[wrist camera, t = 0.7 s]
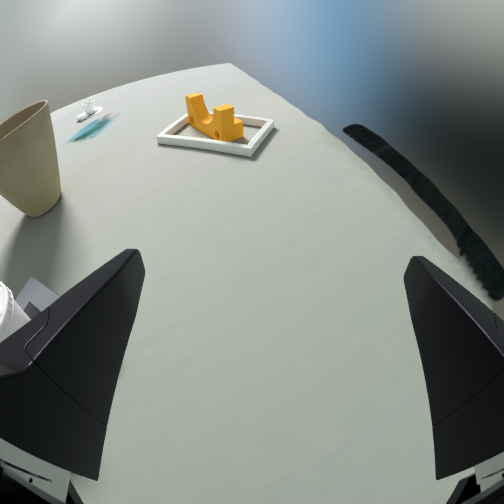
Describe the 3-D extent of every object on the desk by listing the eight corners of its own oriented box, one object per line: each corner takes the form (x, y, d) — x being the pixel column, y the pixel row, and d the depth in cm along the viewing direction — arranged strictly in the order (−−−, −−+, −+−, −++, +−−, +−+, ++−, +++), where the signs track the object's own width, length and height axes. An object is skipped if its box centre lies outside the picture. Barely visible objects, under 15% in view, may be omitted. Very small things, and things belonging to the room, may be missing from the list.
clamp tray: (250, 157, 41) (250, 148, 40) (157, 143, 46) (156, 136, 44) (274, 126, 48) (274, 119, 47) (191, 116, 53) (190, 110, 52)
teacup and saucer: (80, 124, 59) (76, 111, 55) (73, 120, 62) (69, 108, 59) (107, 110, 63) (103, 98, 59) (98, 107, 66) (95, 95, 63)
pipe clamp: (243, 137, 46) (242, 104, 41) (222, 145, 44) (220, 111, 39) (207, 118, 52) (205, 90, 47) (189, 124, 50) (185, 95, 45)
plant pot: (45, 175, 42) (18, 108, 30) (94, 176, 40) (65, 93, 28) (0, 230, 33) (-41, 160, 21) (42, 242, 31) (-10, 152, 19)
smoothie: (78, 354, 22) (-18, 270, 11) (45, 398, 18) (-62, 337, 8) (48, 319, 24) (-30, 235, 13) (18, 359, 20) (-69, 289, 10)
